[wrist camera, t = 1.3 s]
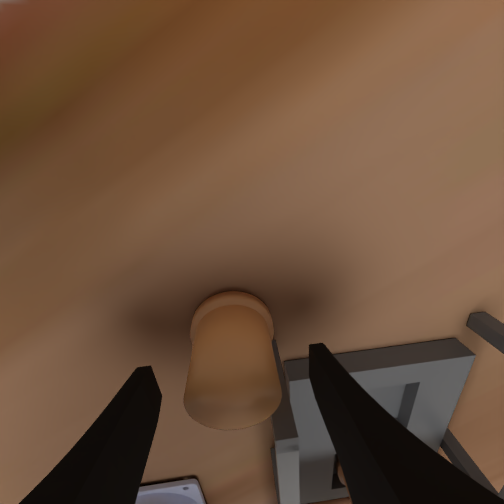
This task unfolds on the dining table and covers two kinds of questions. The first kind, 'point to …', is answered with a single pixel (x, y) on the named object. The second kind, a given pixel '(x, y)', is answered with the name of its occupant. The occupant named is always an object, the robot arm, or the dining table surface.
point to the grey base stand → (388, 396)
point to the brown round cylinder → (232, 363)
